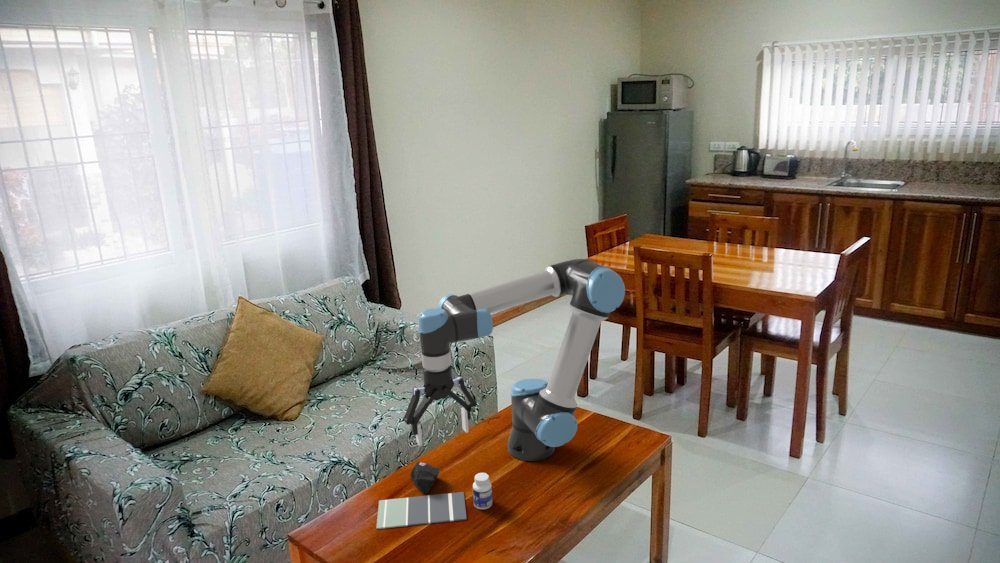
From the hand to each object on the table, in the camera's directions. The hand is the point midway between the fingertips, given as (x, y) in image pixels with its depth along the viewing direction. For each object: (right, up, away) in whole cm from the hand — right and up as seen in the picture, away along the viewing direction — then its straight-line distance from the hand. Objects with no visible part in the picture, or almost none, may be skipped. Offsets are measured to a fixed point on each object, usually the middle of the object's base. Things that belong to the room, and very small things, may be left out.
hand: (442, 437), depth 176 cm
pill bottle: (+11, -20, +3) cm, 23 cm away
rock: (-6, -17, +13) cm, 22 cm away
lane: (-6, -20, +1) cm, 21 cm away
